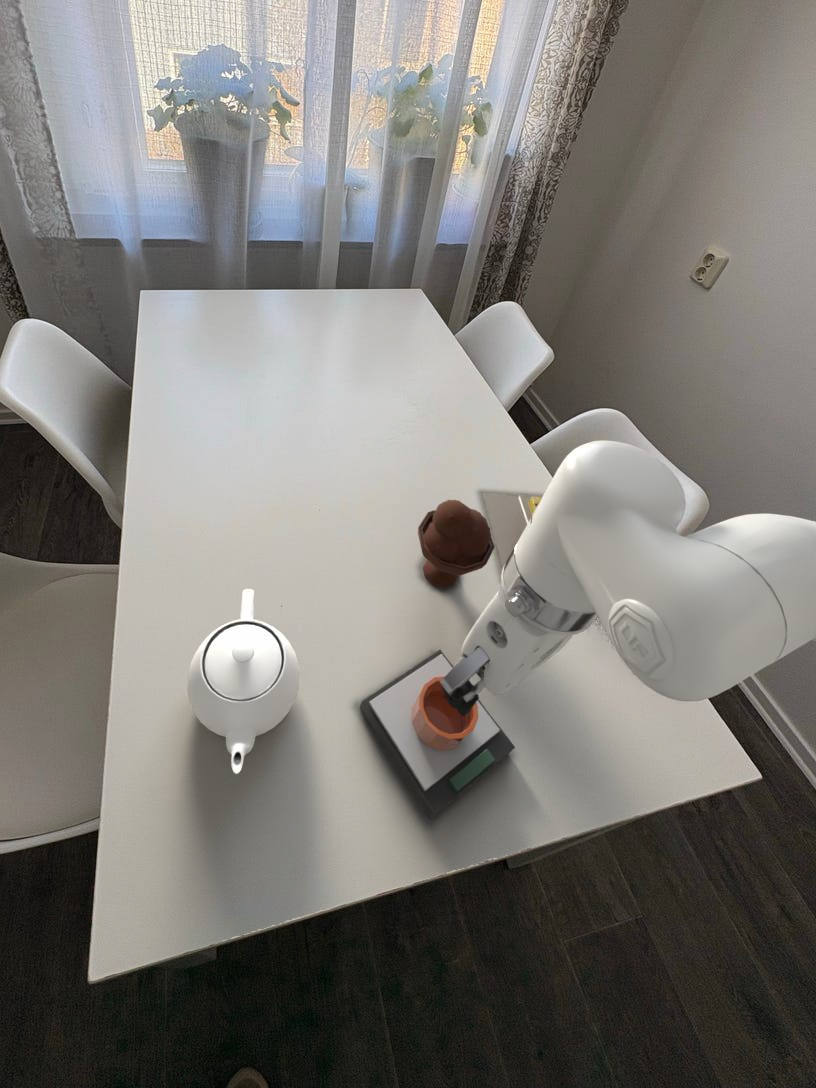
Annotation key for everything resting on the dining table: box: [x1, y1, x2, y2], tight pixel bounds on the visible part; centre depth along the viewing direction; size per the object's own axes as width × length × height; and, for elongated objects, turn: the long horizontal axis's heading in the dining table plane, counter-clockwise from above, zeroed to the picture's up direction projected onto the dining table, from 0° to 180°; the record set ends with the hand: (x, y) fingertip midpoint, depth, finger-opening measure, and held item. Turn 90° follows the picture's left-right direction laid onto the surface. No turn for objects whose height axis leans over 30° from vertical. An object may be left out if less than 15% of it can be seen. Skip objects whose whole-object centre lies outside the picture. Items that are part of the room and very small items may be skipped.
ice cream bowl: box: [417, 499, 495, 589], centre depth 78 cm, size 11×11×15 cm
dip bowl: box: [412, 676, 478, 751], centre depth 63 cm, size 7×7×5 cm
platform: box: [482, 492, 543, 571], centre depth 88 cm, size 12×18×7 cm, turn 1°
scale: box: [359, 649, 516, 820], centre depth 65 cm, size 14×13×3 cm
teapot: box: [186, 588, 301, 775], centre depth 63 cm, size 22×14×11 cm, turn 4°
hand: (489, 674), depth 53 cm, fingers open, 9 cm apart
